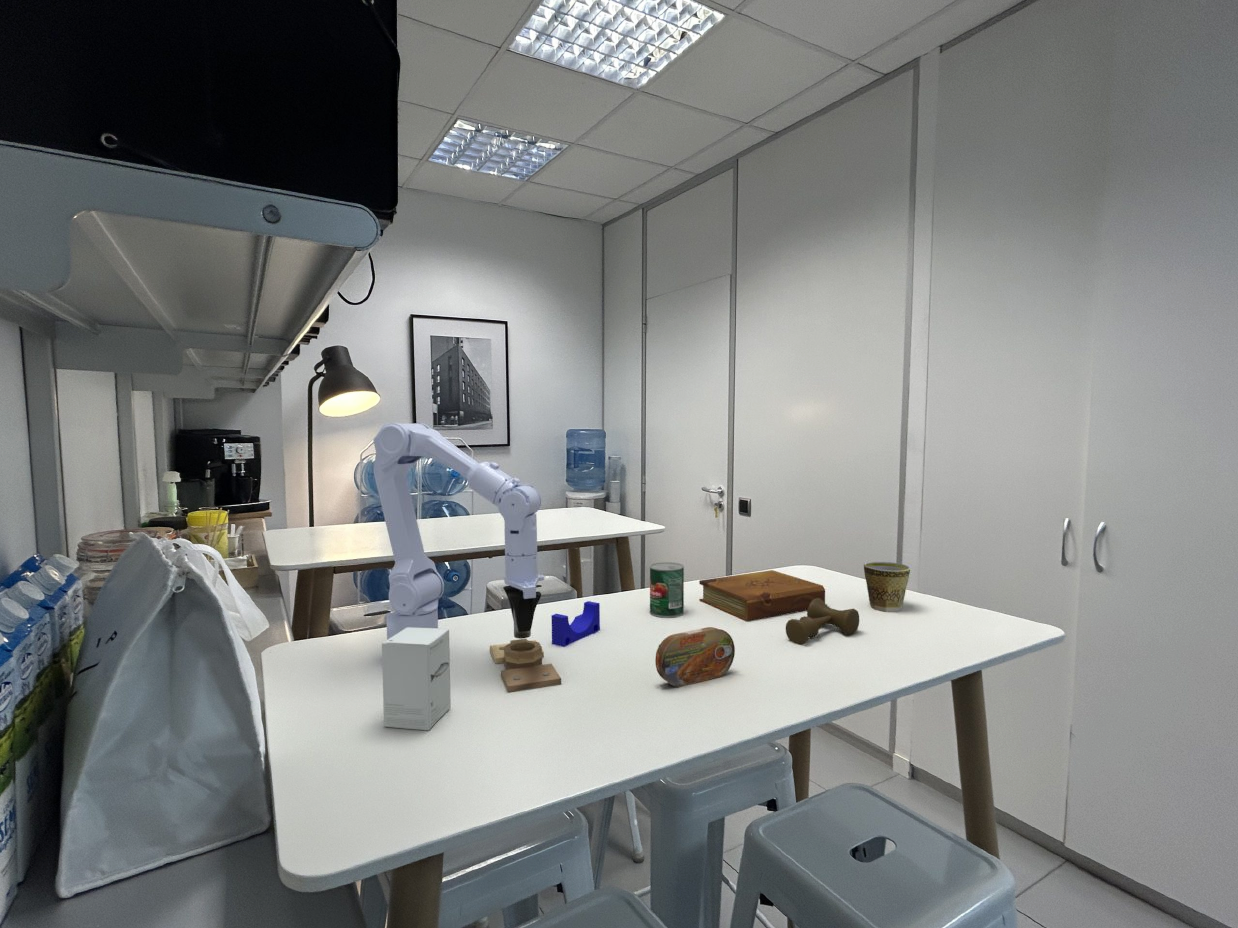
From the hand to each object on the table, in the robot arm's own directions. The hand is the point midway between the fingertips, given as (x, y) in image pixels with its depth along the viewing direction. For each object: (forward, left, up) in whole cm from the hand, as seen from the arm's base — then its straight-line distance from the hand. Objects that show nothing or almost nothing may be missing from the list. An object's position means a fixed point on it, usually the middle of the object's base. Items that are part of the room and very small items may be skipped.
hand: (522, 627), depth 112 cm
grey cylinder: (0, 0, -1) cm, 1 cm away
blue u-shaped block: (+13, +12, -8) cm, 19 cm away
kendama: (+62, -4, -8) cm, 63 cm away
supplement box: (-19, -14, -7) cm, 24 cm away
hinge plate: (0, -3, -7) cm, 8 cm away
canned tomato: (+37, +20, -7) cm, 43 cm away
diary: (+61, +18, -8) cm, 65 cm away
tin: (+26, -16, -7) cm, 32 cm away
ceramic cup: (+87, +6, -7) cm, 88 cm away
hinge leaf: (0, +3, -7) cm, 8 cm away
